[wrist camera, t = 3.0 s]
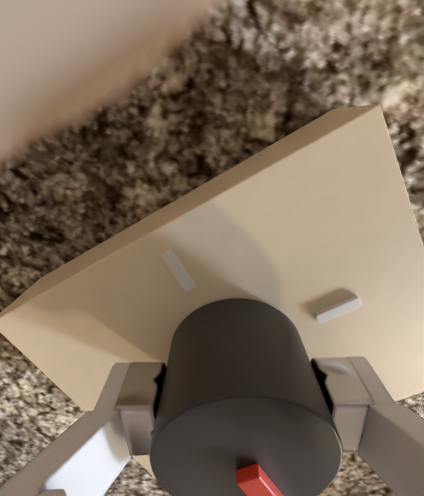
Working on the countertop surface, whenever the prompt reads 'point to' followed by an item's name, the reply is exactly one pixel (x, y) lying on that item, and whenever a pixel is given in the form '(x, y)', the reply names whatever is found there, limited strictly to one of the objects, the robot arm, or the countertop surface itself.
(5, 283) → the countertop surface
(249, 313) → the timer knob
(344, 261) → the panel
